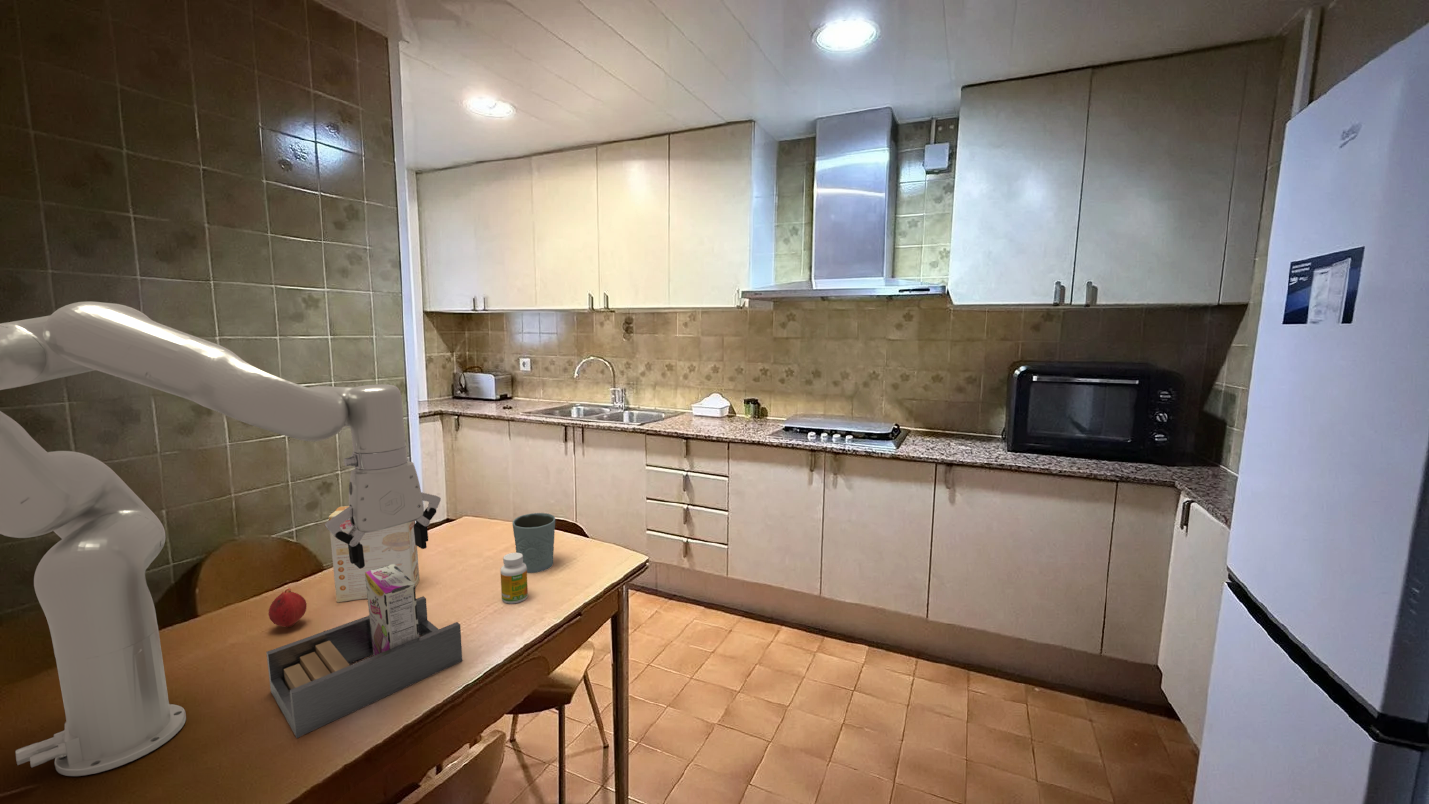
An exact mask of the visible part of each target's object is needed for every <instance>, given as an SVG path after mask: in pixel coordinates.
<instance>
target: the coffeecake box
mask: <svg viewBox="0 0 1429 804" xmlns="http://www.w3.org/2000/svg"><path fill="white" fill-rule="evenodd" d="M348 507H349V505H347V506H343V505H342V506H339V507H337V508H336V509H335V511H333V512H332V513H331V514H330V515H328V521H329V520H331V519H332V518H333V517H335V516H336V515H338V514H339V513H341V512H342V511H344V510H345V509H346V508H348ZM415 523H416V521H412V522H408V523H405V524H401V525H397V526H394V527H390V528H386V529H382V530H379V531H375V532H370V533H365V534H364V536H363V537H362V539H361V540H360V541H359V542H360V544H362V546H363V554H364V562H365V566H364V568H361V569H359V568H358V567H357V566H356V565H355V564H352V563H351V562H350V558H349V549H348V544H347V543H345V542H343V541H341V540H339V539H337V538H336V537H335V536H334V535H333V534H332V533H331V532H330V531H329V536H330V546H331V558H332V567H333V568H332V569H333V578H334V579H333V580H334V588H335V589H334V590H335V598H336V599H335V600H336V603H344V602H350V601H357V600H358V601H359V600H366V599H368V598H367V588H366V577H365V572H367V571H370V570H373V569H377V568H381V567H385V566H388V565H392V564H395V565H396V566H397V567H398V568H399V569H400V570H401V571H402V572H403V573H404V574H405V575H406V576H407V577H408V578H409V579H410V580H411V581H412V582H413V583H414V584H415V588H416V587H417V585H418V583H419V581H420V572H419V571H420V570H419V566H420V565H419V555H418V546H416V545H415V536H414V524H415ZM352 527H353V526H352V525H351V522H350V518H349V519H348V520H346V521H345V522H344V523H342V524H341V525H340V529H341V530H342V531H343V532H345V533H347V534H348V532H349V531H350V529H351V528H352Z"/></svg>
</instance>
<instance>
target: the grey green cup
mask: <svg viewBox="0 0 1429 804" xmlns="http://www.w3.org/2000/svg"><path fill="white" fill-rule="evenodd" d="M555 529H556V517H555V516H554V515H553V514H550V513H547V512H546V513H544V512H533V513H527V514H522V515H520V516H518V517H516V518H514V519H513V520H512V530H513V531H512V532H513V536H514V542H515V553H521V554H522V555H523V563H525V564H526V566H527V574H535V573H536V574H537V573H541V572H544V571H547V570H549V569H551V567H553V565H554V553H555V551H554V550H555V545H554V544H555Z"/></svg>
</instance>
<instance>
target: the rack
mask: <svg viewBox="0 0 1429 804" xmlns="http://www.w3.org/2000/svg"><path fill="white" fill-rule="evenodd" d="M416 604H417V615H418V628H419V638H416V639H414V640H412V641H409V642H407V643H404V644H402V645H399V646H397V647H394V648H392V649H389V650H387V651H385V652H382V653H380V654H377V655H375V656H373V648H372V637H371V627H370V617H369V615H366V616H364V617H361V618H358V619H356V620H355V619H354V620H351V621H349V622H347V623H344V624H341V625H338V626H335V627H333V628H330V629H327V630H324V631H322V632H318V633H316V634H312V635H310V636H307V637H305V638H302V639H298V640H295V641H293V642H291V643H287V644H285V645H282V646H279V647H276V648H273V649H270V650H268V651H266V662H267V668H268V669H267V670H268V678H269V679H268V680H269V687H270V693H271V695H272V697H273V698H274V700H275V702H276V704H277V705H278V707H279V709H280V711H281V713H282V714H283V716H284V718H285V720H286V722H287V723H288V726H289V727H290V729H291V731H292V733H293V734H294V736H295V738H296V739H298V738H300V737H302V736H304V735H306V734H309V733H311V732H312V731H315V730H317V729H319V728H321V727H324V726H326V725H328V724H331V723H332V722H334V721H337V720H339V719H341V718H343V717H346V716H348V715H349V714H352V713H355V712H357V711H358V710H360V709H362V708H365V707H368V706H369V705H371V704H373V703H376V702H378V701H379V700H382V699H383V698H386V697H388V696H391V695H393V694H394V693H397V692H399V691H401V690H403V689H406V688H408V687H410V686H412V685H414V684H416V683H419V682H420V681H422V680H425V679H427V678H429V677H431V676H433V675H436V674H438V673H440V672H442V671H444V670H446V669H448V668H450V667H451V668H452V666H455V665H457V664H459V663H461V662H463V648H462V633H461V632H462V631H461V624H460V623H459V622H458V621H456V622H453V623H451V624H448V625H447V626H444V627H441V628H438V627H437V626H436V625H434V624H433V623H432V622H431V621H429V619H428V610H427V609H428V608H427V598H426V597H425V596H424V595H422V596H420V597H416ZM355 662H356V663H355Z"/></svg>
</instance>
